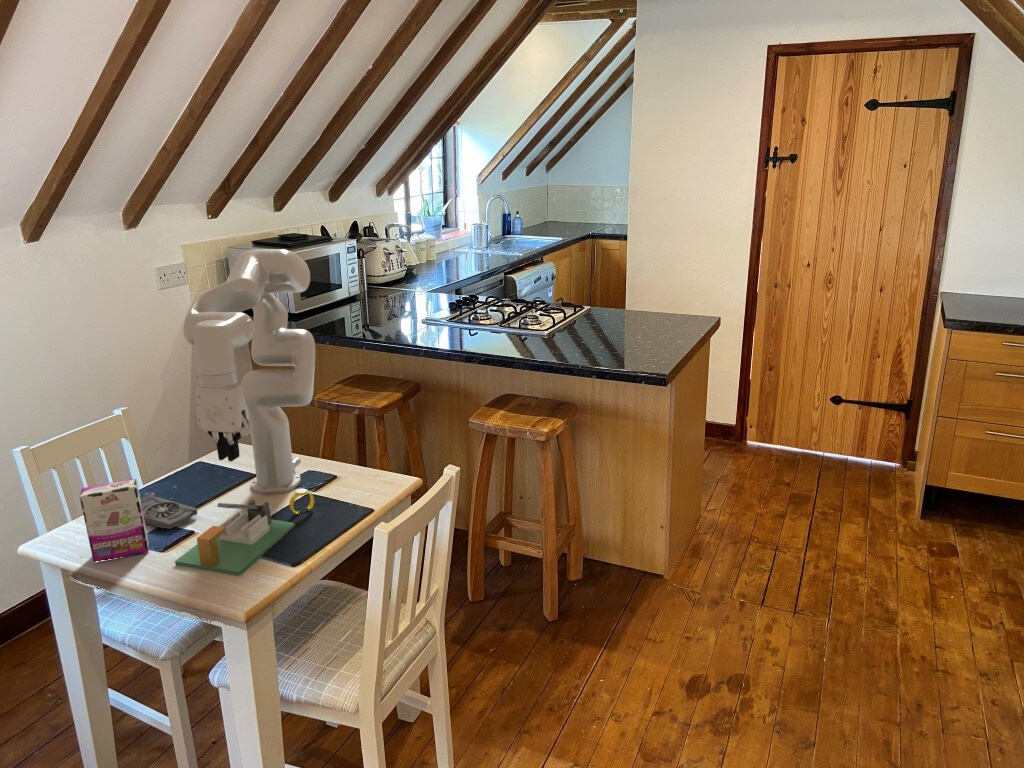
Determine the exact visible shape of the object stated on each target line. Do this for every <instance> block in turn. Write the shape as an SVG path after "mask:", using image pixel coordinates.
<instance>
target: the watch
mask: <svg viewBox="0 0 1024 768" xmlns="http://www.w3.org/2000/svg"><path fill="white" fill-rule="evenodd" d="M307 494H308V495H309V499H310V501H309V504H308V506H307V507H306V508H308V509H311V510H312V509H313V507H314V506H315V505H314V504H315V497H314V495H313V494H312V492H310V491H309V490H308V489H306V488H298V489H295V490H294V494H293V495H292V496H291V497H290V500H289V509H290V510H291V512H292V513H294V514H295V515H297V514H299V513H298V512H299V511H296V510H295V508H294V503H295V501H296V499H297V498H298V497H301V496H305V495H307Z"/></svg>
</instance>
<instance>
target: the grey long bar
mask: <svg viewBox="0 0 1024 768" xmlns="http://www.w3.org/2000/svg"><path fill="white" fill-rule="evenodd" d="M261 505H262V504H256V503H255V504H254V505H250V504H247V503H226V502H218V503H217V508H223V509H238V510H239V509H242V510H248V509H260V510H261Z"/></svg>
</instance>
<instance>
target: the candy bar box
mask: <svg viewBox="0 0 1024 768" xmlns="http://www.w3.org/2000/svg"><path fill="white" fill-rule="evenodd" d="M139 490H140V489H139V485H138V480H137V478H133V479H127V480H122V481H121V480H120V481H116V482H110V483H104V484H98V485H93V486H86V487H82V488H81V491H80V495H79V500H80V505H81V510H82V514H83V518H84V523H85V528H86V532H87V533H86V534H87V537H88V542H89V546H90V552H91V557H92V561H93V563H94V562H96V561H101V560H108V559H114V558H119V559H121V558H120V557H124V558H128V556H129V557H134V556H137V555H142V554H147V553H149V545H150V543H149V542H150V541H149V537H148V531H147V526H146V523H145V520H144V515H143V509H142V504H141V502H142V501H141V499H142V498H141V495H140V491H139ZM114 560H115V559H114Z"/></svg>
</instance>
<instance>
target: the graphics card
mask: <svg viewBox="0 0 1024 768" xmlns="http://www.w3.org/2000/svg"><path fill="white" fill-rule="evenodd" d="M140 499H141V504H142V509H143V515H144V520H145V524H147V525H150V526H154V527H158V528H161V529H163V527H164V528H166V529H168V530H170V529H174V528H175V526H178V525H180V524H184V523H186V522H187V521H188V520H189V519H191V518H192V517H193V516H196V515H198V508H196V507H193V506H189V505H187V504H183V503H179V502H176V501H172V500H169V499H165V498H162V497H158V496H155V493H154V492H150V494H148V495H146V496H145V497H143V498H140Z"/></svg>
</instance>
